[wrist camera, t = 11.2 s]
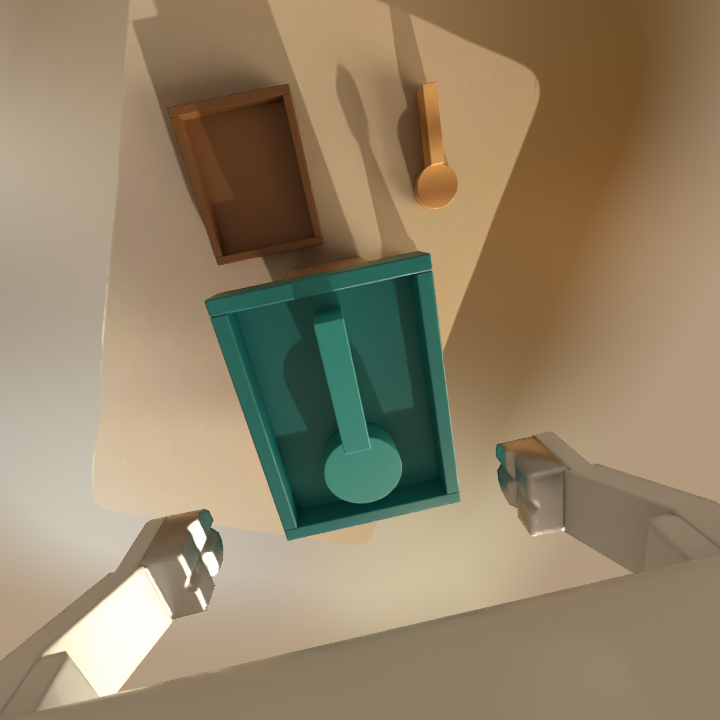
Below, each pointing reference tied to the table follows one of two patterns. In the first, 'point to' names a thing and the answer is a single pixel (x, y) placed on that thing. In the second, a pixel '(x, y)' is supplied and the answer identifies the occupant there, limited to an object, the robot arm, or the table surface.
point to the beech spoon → (433, 154)
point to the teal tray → (311, 393)
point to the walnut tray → (248, 173)
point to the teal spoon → (352, 424)
